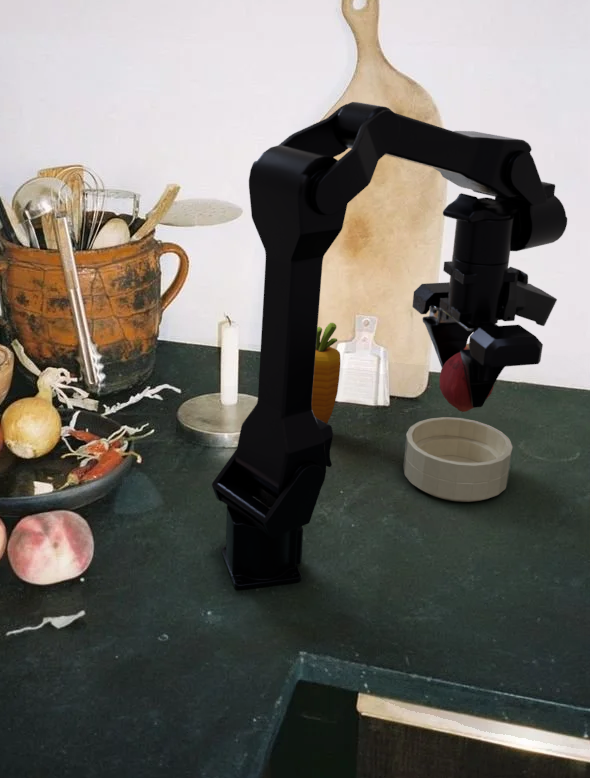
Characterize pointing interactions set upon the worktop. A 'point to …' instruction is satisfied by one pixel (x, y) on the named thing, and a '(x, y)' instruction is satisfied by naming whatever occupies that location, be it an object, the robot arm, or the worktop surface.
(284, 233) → the robot arm
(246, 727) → the worktop surface
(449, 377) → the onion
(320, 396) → the carrot
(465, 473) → the bowl
